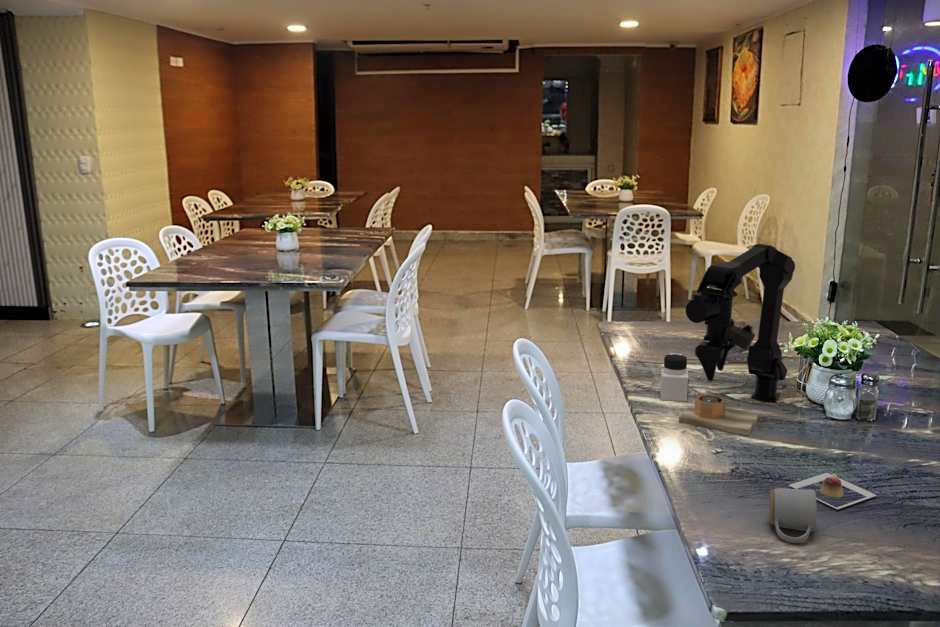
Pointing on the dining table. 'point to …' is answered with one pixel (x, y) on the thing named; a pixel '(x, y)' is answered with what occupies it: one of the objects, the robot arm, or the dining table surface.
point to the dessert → (833, 488)
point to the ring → (710, 407)
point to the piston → (710, 399)
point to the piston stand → (722, 421)
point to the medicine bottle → (674, 378)
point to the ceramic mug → (793, 511)
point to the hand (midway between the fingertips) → (715, 375)
